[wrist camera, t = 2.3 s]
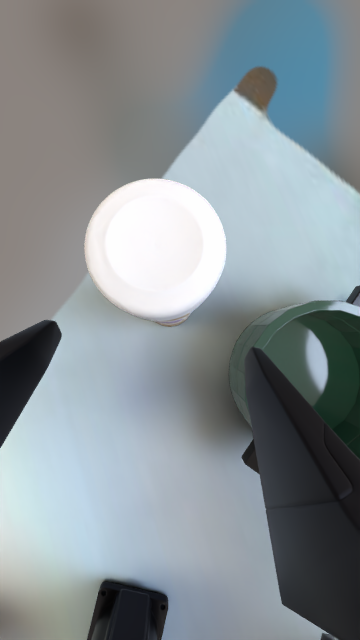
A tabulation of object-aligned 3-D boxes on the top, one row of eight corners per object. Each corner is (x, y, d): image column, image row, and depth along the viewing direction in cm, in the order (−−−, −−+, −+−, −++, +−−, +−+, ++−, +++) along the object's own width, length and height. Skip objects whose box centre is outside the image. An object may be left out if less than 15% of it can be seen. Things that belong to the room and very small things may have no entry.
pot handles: (280, 486, 15) (286, 494, 14) (240, 456, 15) (244, 463, 14) (393, 313, 16) (404, 312, 15) (355, 286, 16) (364, 283, 15)
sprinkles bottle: (157, 333, 19) (109, 341, 5) (141, 292, 19) (56, 200, 6) (199, 316, 19) (253, 284, 6) (182, 276, 19) (196, 149, 6)
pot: (313, 471, 18) (357, 517, 14) (202, 389, 19) (210, 408, 14) (385, 358, 19) (450, 367, 14) (277, 281, 19) (308, 267, 15)
